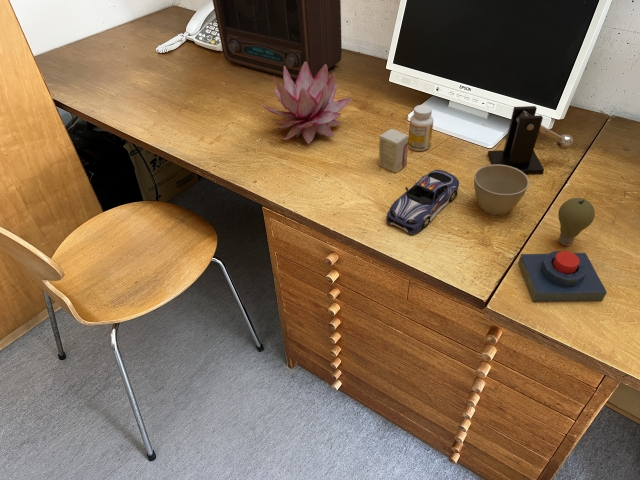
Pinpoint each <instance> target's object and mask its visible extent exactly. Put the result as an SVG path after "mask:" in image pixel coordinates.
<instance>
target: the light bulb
mask: <svg viewBox="0 0 640 480" xmlns="http://www.w3.org/2000/svg"><path fill="white" fill-rule="evenodd" d="M557 216H558V217H557V218H558V221H559V225H560V227H559V230H560V231H559V232H560V234H559V236H558V237H557V240H558V242H559V243H560V244H561V245H562V246H571V245H572V244H573V243H574V240H575V238H576V237H578V236H579V235H580V234H581V232H582V231H584V230H585V229H587V228H588V227H590V226H591V225H592V224H593V222H594V220H595V217H596V210H595V207H594V205H593V204H592V203H591V202H590V201H589V200H588V199H586V198H582V197H572V198H569V199H567V200H565V201H564V202H563V203H562V204H561V205H560V207H559V210H558V214H557Z"/></svg>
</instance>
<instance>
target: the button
mask: <svg viewBox="0 0 640 480" xmlns="http://www.w3.org/2000/svg"><path fill="white" fill-rule="evenodd" d="M560 251H561V252H559V253H557V254H556V256H555V259H554V261H553V266H554V268H555V269H556V270H557V271H559V272H561V273H564V274H572V273H574V272H575V271H576V270H577V267H578V265H579V263H580V260H579V258H578V257H577V256H576V255H575V254H573V253H574V252H571V251H567V250H560Z"/></svg>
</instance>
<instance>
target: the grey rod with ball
mask: <svg viewBox="0 0 640 480" xmlns="http://www.w3.org/2000/svg"><path fill="white" fill-rule="evenodd" d="M519 116H533V115H532V114H530V113H528V112H526V111H525V110H523V111H522V113H521V114H520V115H519ZM519 116H518V117H517V118H516V121H517V122H518V120H519ZM539 132H540V133H541V134H544V135H546V136H547V137H548V138H551V139H552V140H554V141H556V146H557V148H559V149H560V150H568V149H570V148H572V146H573V144H574V138H573V137H572V135H571V134H565V133H564V134H561V135H560V134H558V133H556V132H555V131H553V130H551V129H549V128H548V127H545V126H544V125H543V124H541V126H540V129H539Z"/></svg>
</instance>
